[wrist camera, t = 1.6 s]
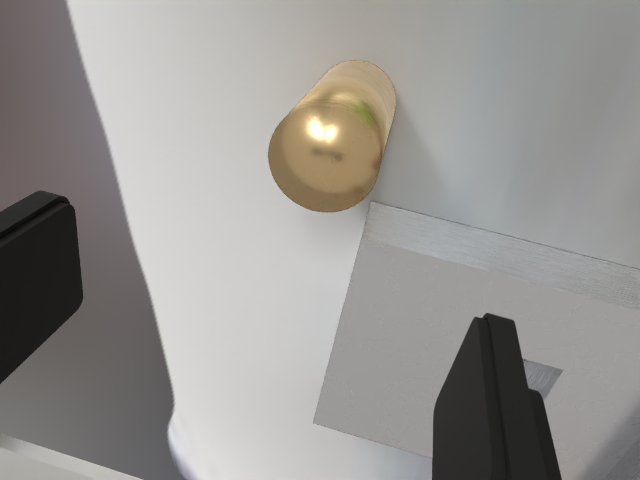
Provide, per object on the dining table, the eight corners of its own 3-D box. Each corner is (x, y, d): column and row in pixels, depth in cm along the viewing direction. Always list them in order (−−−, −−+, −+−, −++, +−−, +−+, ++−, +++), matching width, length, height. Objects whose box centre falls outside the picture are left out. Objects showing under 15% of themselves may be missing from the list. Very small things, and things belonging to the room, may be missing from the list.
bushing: (323, 51, 23) (275, 93, 16) (405, 70, 23) (391, 121, 16) (309, 131, 25) (262, 197, 19) (384, 149, 25) (364, 224, 18)
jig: (371, 201, 27) (356, 255, 22) (712, 288, 25) (776, 366, 20) (325, 376, 34) (307, 445, 29) (586, 451, 33) (611, 536, 28)
